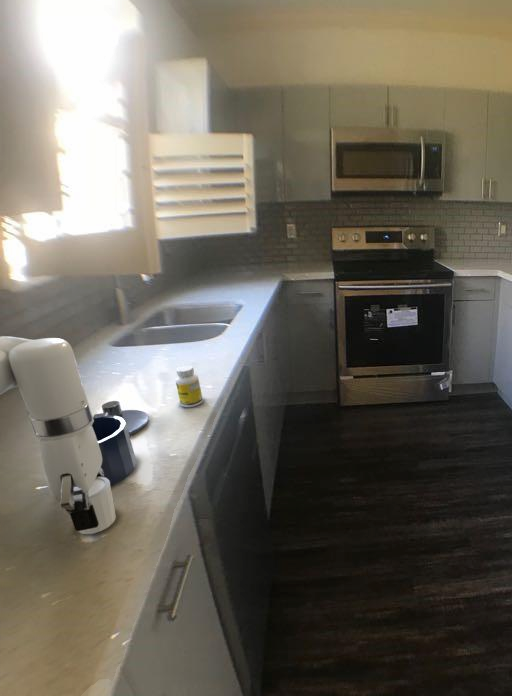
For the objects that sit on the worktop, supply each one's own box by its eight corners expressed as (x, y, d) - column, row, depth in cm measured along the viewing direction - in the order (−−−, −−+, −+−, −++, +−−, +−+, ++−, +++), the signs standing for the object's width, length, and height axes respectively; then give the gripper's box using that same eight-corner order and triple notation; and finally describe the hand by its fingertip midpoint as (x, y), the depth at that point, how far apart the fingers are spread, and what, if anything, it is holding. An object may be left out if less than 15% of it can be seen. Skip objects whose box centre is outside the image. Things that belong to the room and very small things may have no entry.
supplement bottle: (176, 404, 118) (168, 369, 114) (194, 396, 122) (188, 362, 118) (188, 409, 115) (181, 374, 111) (207, 401, 119) (200, 366, 115)
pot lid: (75, 447, 99) (67, 422, 97) (92, 419, 112) (85, 396, 109) (143, 437, 103) (137, 412, 101) (153, 410, 115) (147, 388, 113)
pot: (48, 508, 81) (31, 462, 77) (78, 454, 97) (65, 415, 93) (126, 493, 84) (114, 449, 81) (143, 444, 100) (133, 405, 97)
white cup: (103, 504, 82) (92, 471, 79) (128, 515, 79) (118, 482, 76) (64, 529, 76) (51, 495, 73) (90, 542, 73) (77, 506, 70)
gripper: (54, 399, 76) (83, 486, 83) (9, 453, 61) (50, 555, 68) (104, 392, 78) (129, 478, 85) (73, 443, 63) (106, 543, 70)
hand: (93, 512), depth 77 cm, fingers closed on white cup, 6 cm apart
